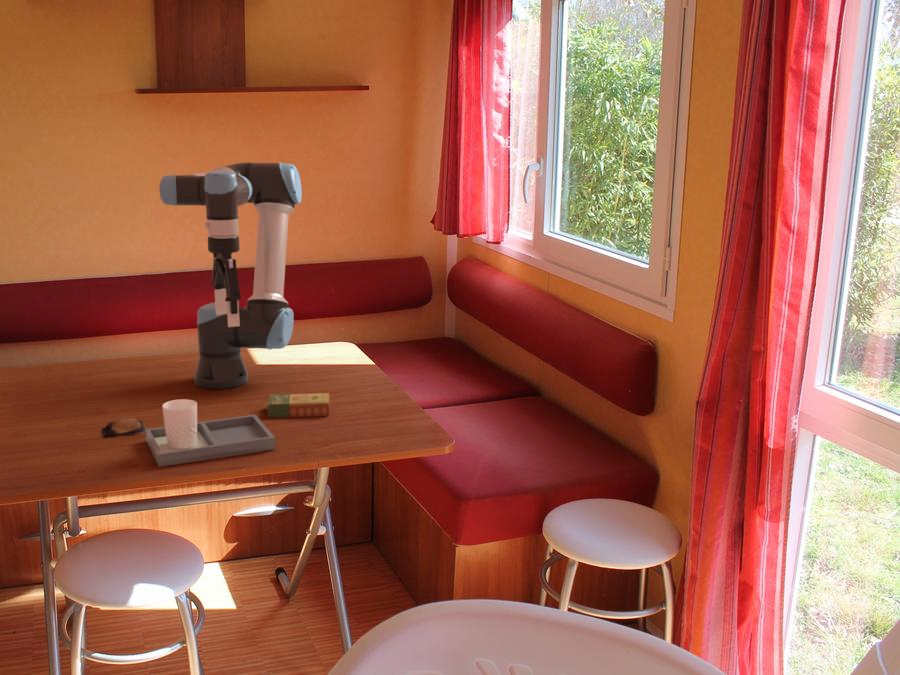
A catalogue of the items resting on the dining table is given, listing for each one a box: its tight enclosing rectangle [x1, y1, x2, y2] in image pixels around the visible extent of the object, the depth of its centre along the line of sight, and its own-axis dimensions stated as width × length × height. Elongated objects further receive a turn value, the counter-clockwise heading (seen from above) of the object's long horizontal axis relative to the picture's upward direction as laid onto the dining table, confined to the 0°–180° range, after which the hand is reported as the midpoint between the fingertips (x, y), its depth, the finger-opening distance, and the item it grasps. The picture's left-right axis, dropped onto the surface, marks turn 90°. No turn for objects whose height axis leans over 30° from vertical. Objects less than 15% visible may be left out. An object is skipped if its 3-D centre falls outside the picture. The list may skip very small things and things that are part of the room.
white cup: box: [161, 398, 198, 449], centre depth 233 cm, size 8×8×10 cm
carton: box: [267, 392, 331, 418], centre depth 261 cm, size 8×16×4 cm, turn 96°
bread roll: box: [101, 417, 148, 439], centre depth 246 cm, size 11×8×4 cm
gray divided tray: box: [144, 414, 276, 468], centre depth 236 cm, size 18×27×3 cm, turn 115°
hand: (227, 320), depth 247 cm, fingers open, 13 cm apart
